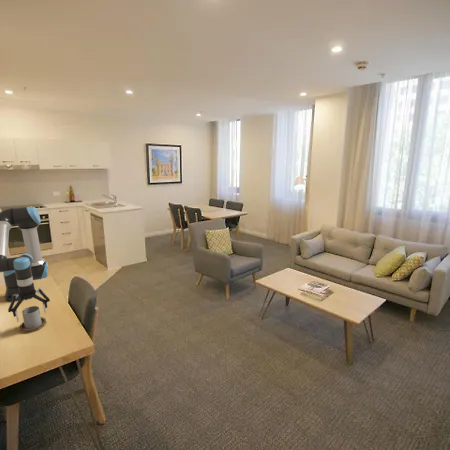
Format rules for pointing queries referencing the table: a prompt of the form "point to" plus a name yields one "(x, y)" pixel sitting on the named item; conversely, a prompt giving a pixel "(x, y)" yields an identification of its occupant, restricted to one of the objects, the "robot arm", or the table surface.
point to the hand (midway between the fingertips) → (31, 316)
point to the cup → (31, 317)
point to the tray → (23, 329)
